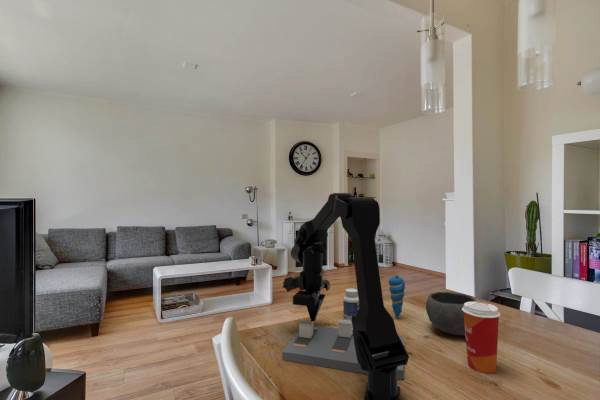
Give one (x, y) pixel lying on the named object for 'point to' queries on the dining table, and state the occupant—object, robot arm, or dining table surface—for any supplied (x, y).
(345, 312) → the pill bottle
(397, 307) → the ornament
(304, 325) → the handle
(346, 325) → the middle handle
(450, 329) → the bowl
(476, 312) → the paper cup
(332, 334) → the breaker panel
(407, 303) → the dining table surface
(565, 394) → the dining table surface
